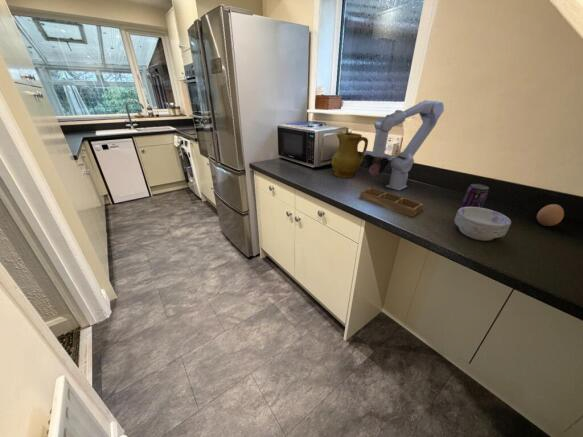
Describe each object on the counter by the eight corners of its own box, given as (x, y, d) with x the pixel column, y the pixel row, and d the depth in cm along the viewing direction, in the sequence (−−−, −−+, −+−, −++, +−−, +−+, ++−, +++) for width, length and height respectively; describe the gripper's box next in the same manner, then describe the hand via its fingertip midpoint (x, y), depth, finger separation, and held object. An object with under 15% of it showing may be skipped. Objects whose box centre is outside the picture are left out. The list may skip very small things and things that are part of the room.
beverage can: (472, 217, 97) (484, 190, 91) (455, 210, 102) (465, 185, 97) (482, 214, 100) (494, 187, 94) (465, 207, 105) (475, 182, 100)
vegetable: (382, 177, 121) (386, 157, 116) (376, 179, 117) (380, 159, 112) (371, 174, 125) (375, 155, 120) (365, 176, 121) (368, 157, 116)
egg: (529, 223, 93) (541, 203, 89) (536, 219, 96) (548, 199, 92) (552, 231, 88) (566, 210, 83) (559, 226, 91) (572, 206, 86)
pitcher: (337, 168, 157) (342, 129, 144) (363, 175, 148) (372, 134, 135) (324, 175, 145) (329, 133, 132) (352, 183, 136) (361, 139, 123)
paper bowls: (443, 222, 93) (450, 204, 89) (484, 224, 91) (492, 206, 88) (464, 244, 79) (473, 224, 76) (512, 247, 78) (524, 226, 74)
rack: (369, 193, 119) (370, 187, 117) (421, 210, 102) (423, 203, 100) (359, 198, 113) (360, 191, 112) (412, 217, 97) (414, 209, 95)
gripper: (362, 142, 116) (358, 169, 122) (389, 147, 106) (383, 176, 112) (370, 141, 120) (366, 167, 126) (397, 145, 110) (391, 173, 116)
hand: (374, 171), depth 119 cm, fingers closed on vegetable, 6 cm apart
